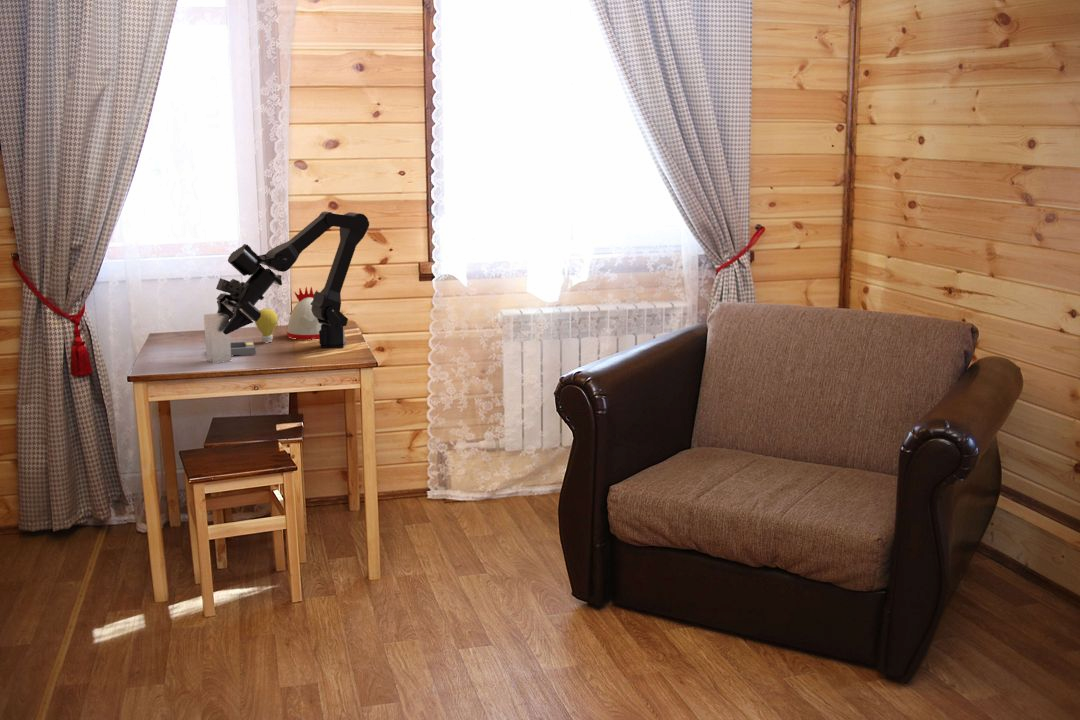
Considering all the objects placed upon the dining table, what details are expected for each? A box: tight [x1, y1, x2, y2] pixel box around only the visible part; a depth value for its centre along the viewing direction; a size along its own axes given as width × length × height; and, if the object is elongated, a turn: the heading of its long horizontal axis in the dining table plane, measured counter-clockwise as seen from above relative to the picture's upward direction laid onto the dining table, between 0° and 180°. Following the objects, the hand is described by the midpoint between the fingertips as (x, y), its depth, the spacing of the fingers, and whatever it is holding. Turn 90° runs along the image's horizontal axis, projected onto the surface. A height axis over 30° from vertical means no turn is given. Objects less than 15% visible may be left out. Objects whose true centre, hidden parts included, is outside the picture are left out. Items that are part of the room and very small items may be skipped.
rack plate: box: [230, 340, 256, 357], centre depth 297 cm, size 11×10×2 cm
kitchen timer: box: [286, 286, 322, 341], centre depth 320 cm, size 14×14×15 cm
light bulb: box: [254, 308, 279, 343], centre depth 310 cm, size 7×7×10 cm
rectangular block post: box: [203, 312, 232, 364], centre depth 285 cm, size 5×5×12 cm
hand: (218, 330), depth 285 cm, fingers open, 9 cm apart
